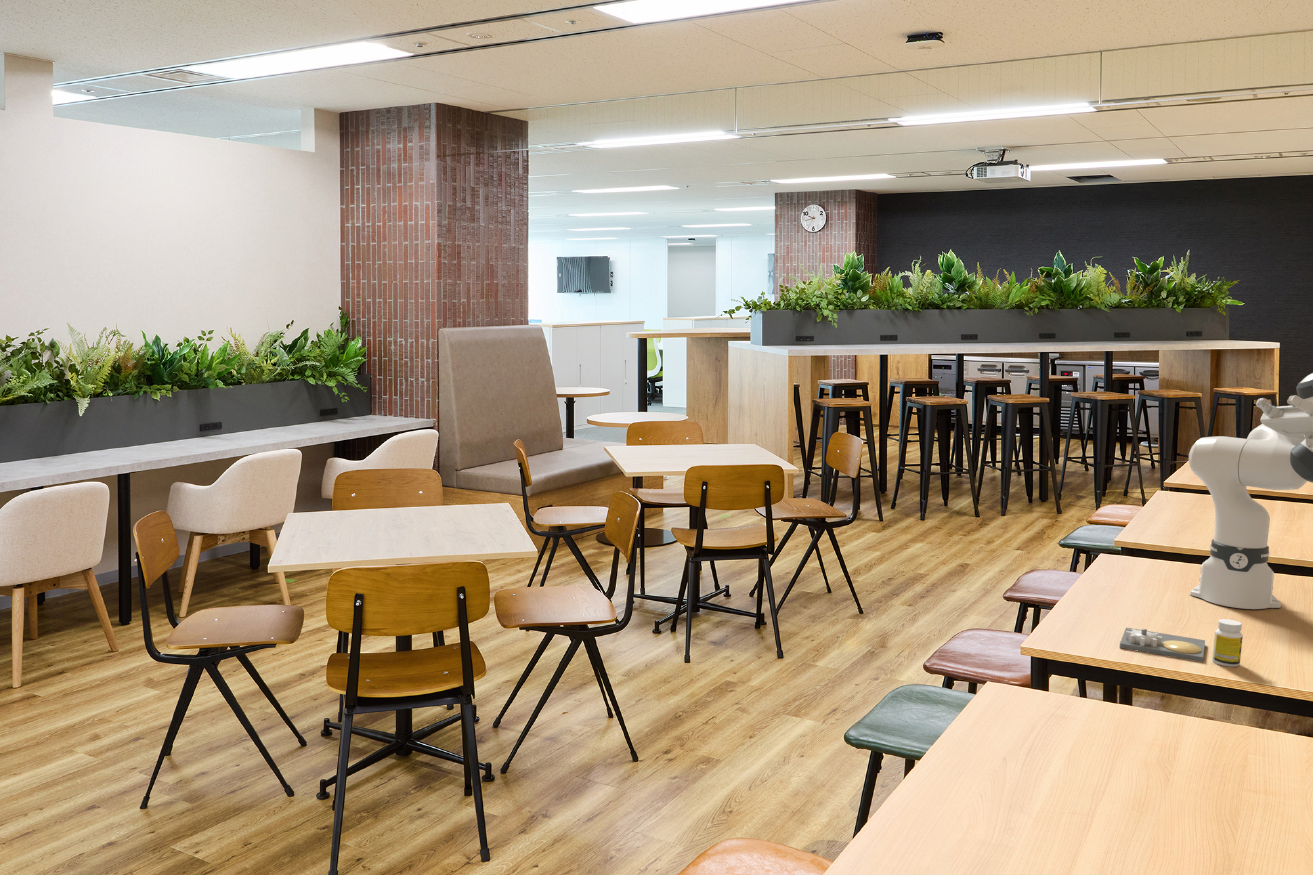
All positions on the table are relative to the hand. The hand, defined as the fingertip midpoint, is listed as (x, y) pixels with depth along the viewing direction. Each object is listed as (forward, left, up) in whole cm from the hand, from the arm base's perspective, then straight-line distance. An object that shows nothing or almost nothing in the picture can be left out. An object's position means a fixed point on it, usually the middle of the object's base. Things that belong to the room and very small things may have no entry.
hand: (1274, 399), depth 207 cm
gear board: (+15, -16, -51) cm, 55 cm away
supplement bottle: (+19, -4, -51) cm, 55 cm away
